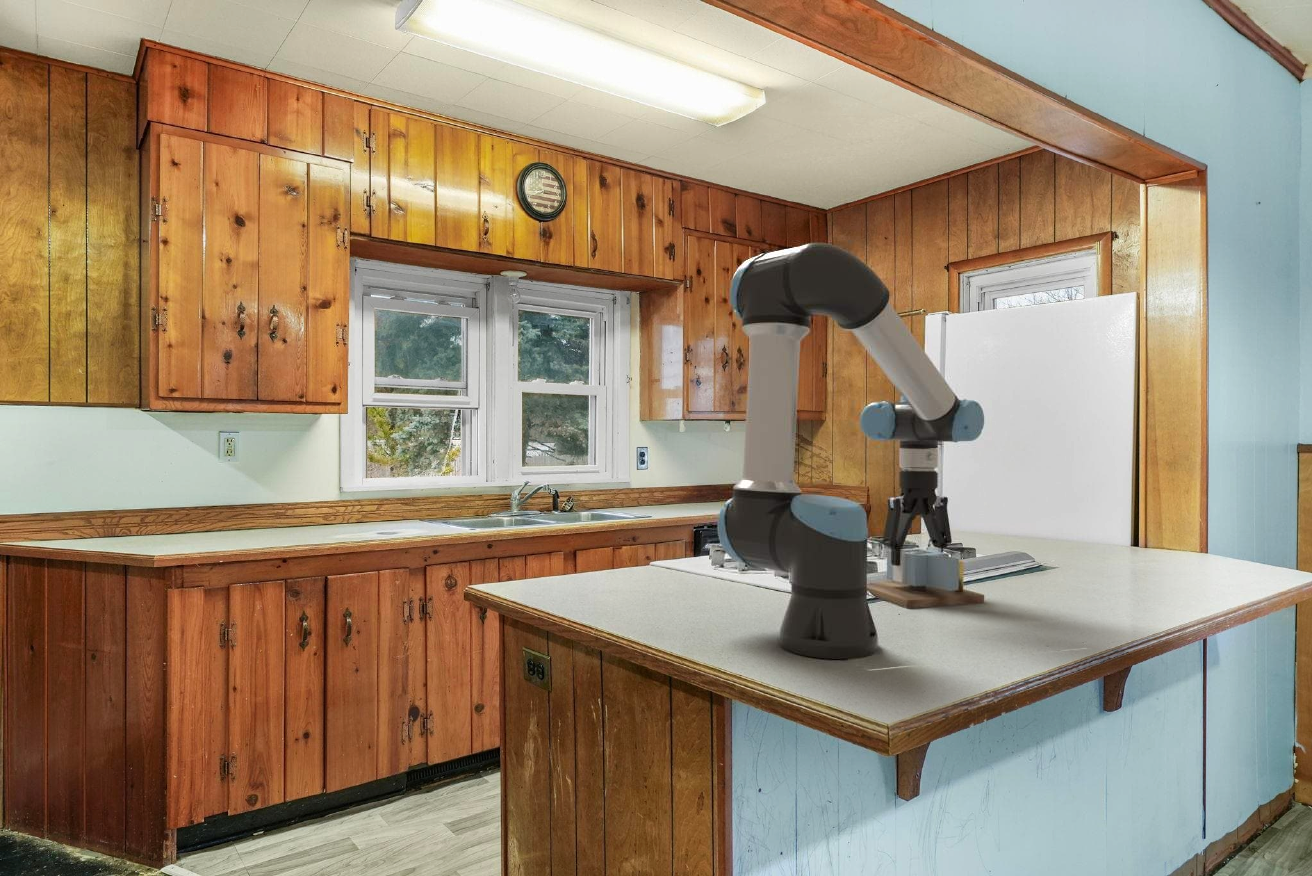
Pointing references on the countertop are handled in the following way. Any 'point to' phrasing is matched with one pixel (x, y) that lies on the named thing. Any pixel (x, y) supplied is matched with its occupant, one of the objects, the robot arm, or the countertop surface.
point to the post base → (921, 594)
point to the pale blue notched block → (928, 569)
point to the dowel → (960, 576)
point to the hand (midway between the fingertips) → (917, 579)
